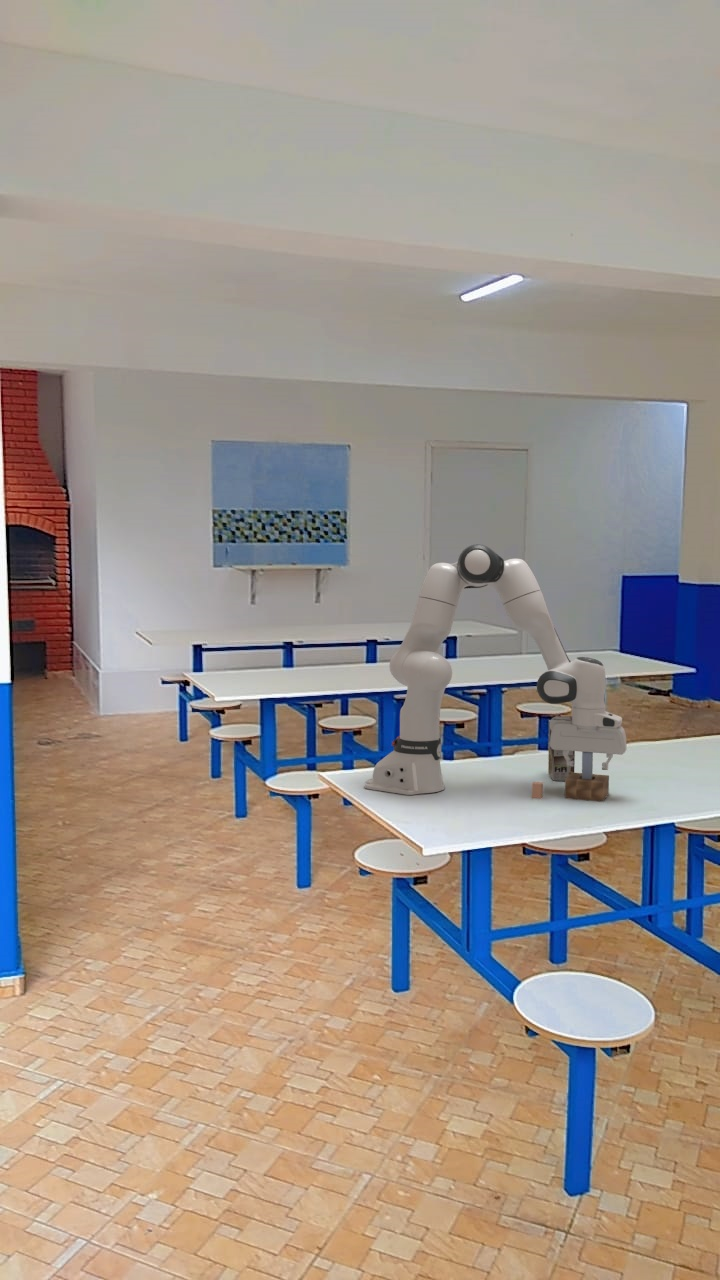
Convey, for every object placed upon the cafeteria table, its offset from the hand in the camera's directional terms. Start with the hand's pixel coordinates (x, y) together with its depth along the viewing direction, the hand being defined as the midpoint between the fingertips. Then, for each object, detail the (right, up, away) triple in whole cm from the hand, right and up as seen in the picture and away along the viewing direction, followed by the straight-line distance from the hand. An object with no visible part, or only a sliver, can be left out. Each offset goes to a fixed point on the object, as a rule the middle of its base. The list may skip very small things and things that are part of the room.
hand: (587, 768), depth 272 cm
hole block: (0, -8, +1) cm, 8 cm away
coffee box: (-2, -6, +23) cm, 24 cm away
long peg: (0, -8, +1) cm, 8 cm away
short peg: (-14, -8, -1) cm, 16 cm away
